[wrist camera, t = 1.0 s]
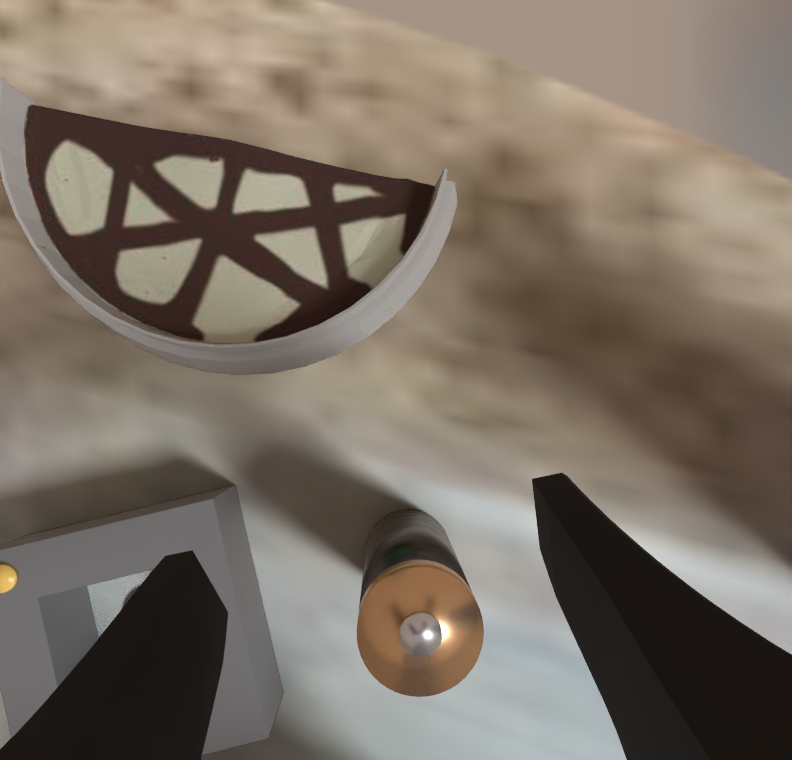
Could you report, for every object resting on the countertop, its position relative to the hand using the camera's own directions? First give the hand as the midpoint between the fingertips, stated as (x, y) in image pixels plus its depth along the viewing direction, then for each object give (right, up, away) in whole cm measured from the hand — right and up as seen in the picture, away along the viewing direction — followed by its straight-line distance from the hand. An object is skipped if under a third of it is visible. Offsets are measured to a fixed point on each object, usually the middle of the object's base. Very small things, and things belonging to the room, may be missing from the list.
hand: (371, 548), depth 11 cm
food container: (-4, +7, +12) cm, 15 cm away
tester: (-10, -6, +11) cm, 16 cm away
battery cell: (+1, -4, +12) cm, 12 cm away
